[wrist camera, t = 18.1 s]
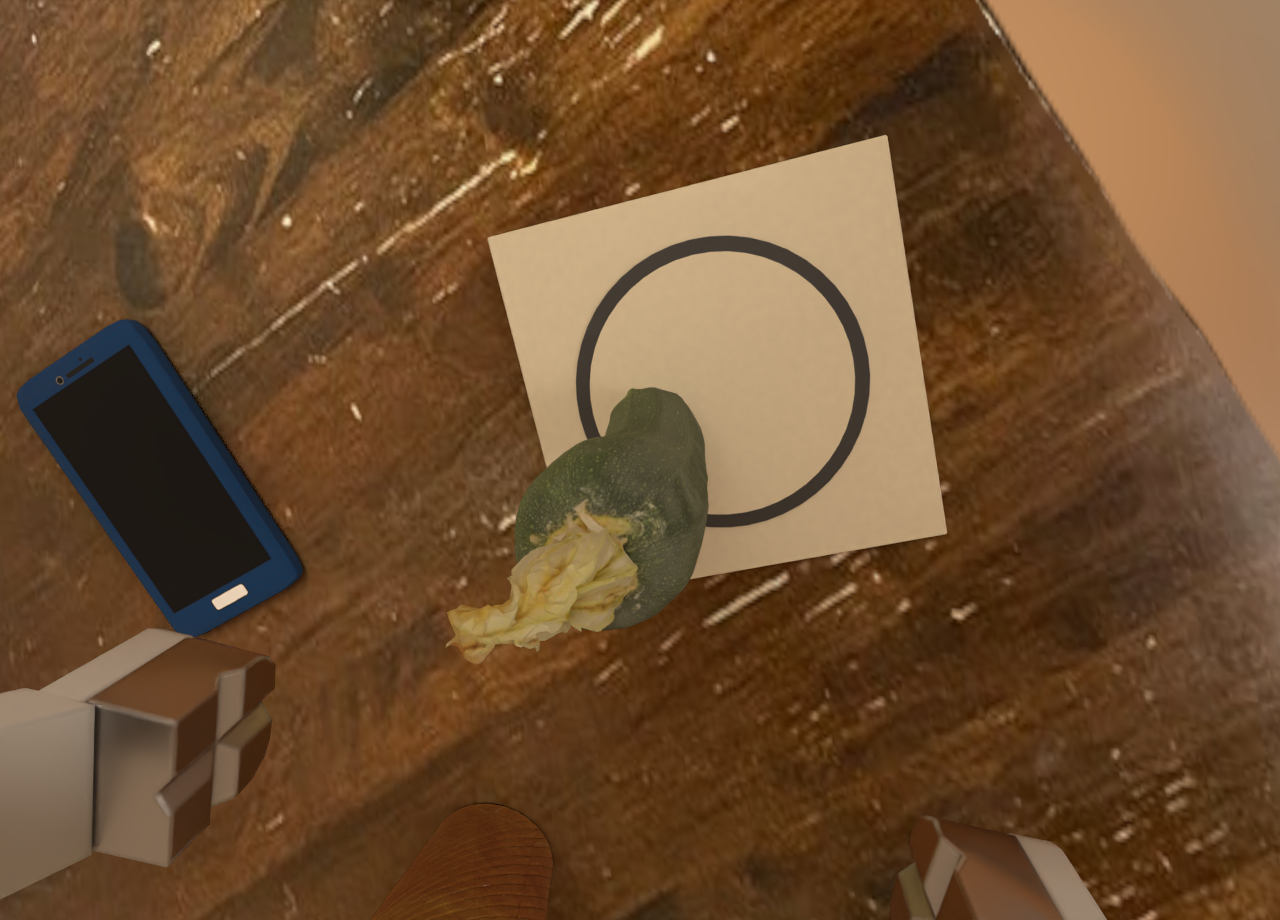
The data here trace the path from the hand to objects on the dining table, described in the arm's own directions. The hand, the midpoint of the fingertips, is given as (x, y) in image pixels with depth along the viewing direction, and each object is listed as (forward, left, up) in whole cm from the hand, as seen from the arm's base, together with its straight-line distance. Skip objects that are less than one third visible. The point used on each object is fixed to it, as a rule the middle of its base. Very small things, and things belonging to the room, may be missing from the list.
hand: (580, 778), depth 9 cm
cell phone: (+24, -3, -23) cm, 33 cm away
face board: (-2, -2, -22) cm, 23 cm away
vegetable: (+1, -1, -22) cm, 22 cm away
